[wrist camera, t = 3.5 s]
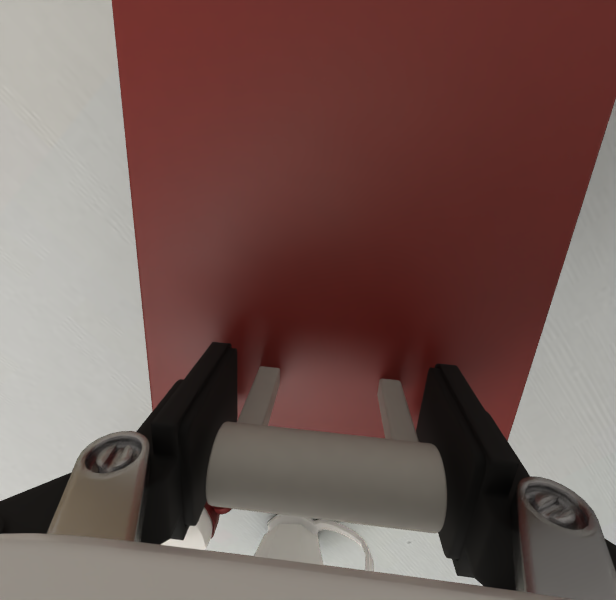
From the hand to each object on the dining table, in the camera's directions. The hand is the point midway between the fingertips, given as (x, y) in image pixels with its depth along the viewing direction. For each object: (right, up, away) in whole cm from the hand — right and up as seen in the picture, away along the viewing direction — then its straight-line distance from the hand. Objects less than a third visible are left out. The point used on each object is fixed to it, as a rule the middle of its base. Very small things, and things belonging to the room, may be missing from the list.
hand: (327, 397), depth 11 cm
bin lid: (0, +5, 0) cm, 5 cm away
